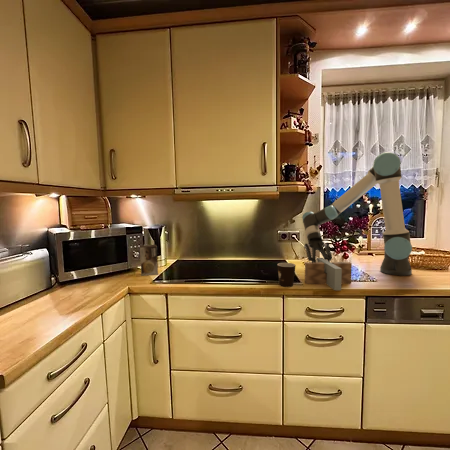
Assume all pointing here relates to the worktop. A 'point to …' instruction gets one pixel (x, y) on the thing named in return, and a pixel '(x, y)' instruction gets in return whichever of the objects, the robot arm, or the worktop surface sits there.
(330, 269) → the grey plain narrow board
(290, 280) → the coffee mug
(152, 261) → the coffee box
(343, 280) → the walnut slotted board
